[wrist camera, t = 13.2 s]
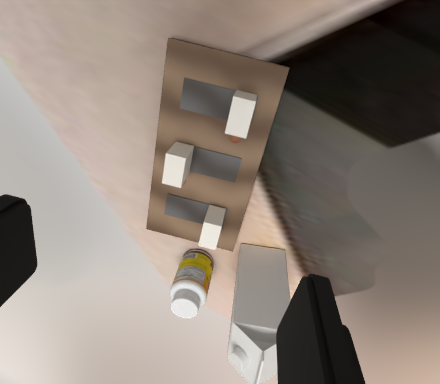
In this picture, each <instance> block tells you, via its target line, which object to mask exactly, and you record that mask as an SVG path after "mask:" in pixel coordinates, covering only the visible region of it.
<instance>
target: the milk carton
mask: <svg viewBox="0 0 440 384" xmlns="http://www.w3.org/2000/svg"><path fill="white" fill-rule="evenodd" d="M289 303H290V292H289V283H288V274H287V265H286V255H285V250H281V249H275V248H268V247H261V246H255V245H248V244H241V246H240V252H239V259H238V266H237V273H236V281H235V290H234V299H233V308H232V317H231V326H230V335H229V344H228V354H227V359H228V361H229V362H230V363H231V364H232V365H233V367H234V368H235V369H236V370H237V371H238V372H239V373H240V375H242V377H243V378H244V379H245V380H246V381H247V382H248V384H262V383H264V382H265V381H267V380H268V379H269V378H271V377H272V376H274V375H275V374H276V373H278V372H277V349H276V333H277V328H278V326H279V324H280V322H281V320H282V318H283V316H284V314H285V311H286V309H287V307H288V305H289Z"/></svg>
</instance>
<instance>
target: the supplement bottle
mask: <svg viewBox="0 0 440 384" xmlns="http://www.w3.org/2000/svg"><path fill="white" fill-rule="evenodd" d="M212 270H213V260H212V258H211V257H210V255H209V254H207V253H206V252H204V251H201V250H190V251H188V252H186V253H185V254H184V255H183V257H182V259H181V262H180V265H179V268H178V270H177V273H176V276H175V278H174V281H173V284H172V286H171V289H170V297H171V300H172V303H171V310H172V311H173V313H174V314H175V315H177V316H179V317H181V318H186V319H188V318H193V317H194V316H196V315H197V313H198V310H199V308H200V307H202V306H203V305H204V304H205V302H206V299H207V294H208V289H209V284H210V280H211V275H212Z"/></svg>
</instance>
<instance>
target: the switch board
mask: <svg viewBox="0 0 440 384" xmlns="http://www.w3.org/2000/svg"><path fill="white" fill-rule="evenodd" d="M288 71H289V67H287V66H283V65H278V64H274V63H270V62H266V61H262V60H258V59H254V58H250V57H246V56H242V55H238V54H234V53H230V52H226V51H222V50H218V49H214V48H210V47H206V46H202V45H198V44H194V43H190V42H186V41H182V40H178V39H174V38H168V43H167V52H166V60H165V69H164V78H163V87H162V96H161V104H160V113H159V122H158V131H157V140H156V148H155V157H154V166H153V175H152V184H151V192H150V201H149V210H148V219H147V228H146V229H149V230H152V231H156V232H160V233H164V234H168V235H172V236H175V237H179V238H183V239H187V240H191V241H195V242H199V240H200V236H201V232H202V227H203V223H204V220H205V217H206V214H207V211H208V208H209V205H213V206H217V207H221V208H224V209H226V210H225V215H224V219H223V224H222V228H221V232H220V235H219V239H218V243H217V246H216V247H218V248H222V249H225V250H229V251H233V249H234V246H235V243H236V240H237V236H238V233H239V230H240V227H241V224H242V220H243V217H244V214H245V211H246V207H247V204H248V201H249V198H250V194H251V191H252V188H253V185H254V181H255V178H256V175H257V172H258V168H259V165H260V162H261V159H262V155H263V152H264V149H265V146H266V143H267V139H268V136H269V133H270V130H271V126H272V123H273V120H274V117H275V113H276V110H277V107H278V104H279V100H280V97H281V94H282V91H283V87H284V84H285V81H286V78H287V74H288ZM236 90H240V91H244V92H248V93H252V94H256V95H257V98H256V104H255V108H254V111H253V115H252V119H251V123H250V126H249V130H248V134H247V137H246V139H245V138H241V137H237V136H233V135H229V134H225V130H226V125H227V121H228V117H229V113H230V108H231V104H232V100H233V96H234V94H235V92H236ZM175 142H180V143H184V144H188V145H192V146H194V150H193V155H192V161H191V166H190V172H189V175H188V176H187V178H186V180H185V182H184V183H183V185H182V187H181V188H178V187H174V186H171V185H167V184H163V183H162V179H163V171H164V164H165V156H166V153H167V151H168V150H169V149H170V148H171V147H172V146H173V145H174V143H175Z"/></svg>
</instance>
